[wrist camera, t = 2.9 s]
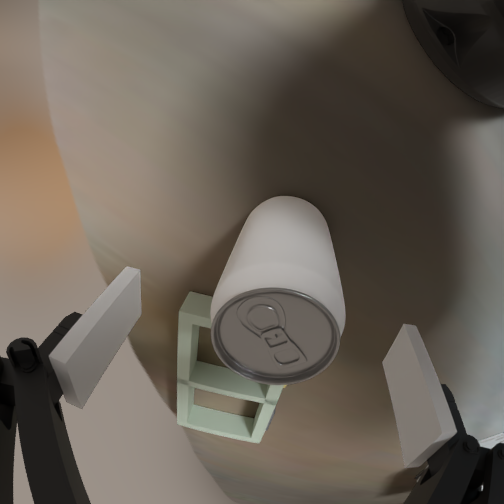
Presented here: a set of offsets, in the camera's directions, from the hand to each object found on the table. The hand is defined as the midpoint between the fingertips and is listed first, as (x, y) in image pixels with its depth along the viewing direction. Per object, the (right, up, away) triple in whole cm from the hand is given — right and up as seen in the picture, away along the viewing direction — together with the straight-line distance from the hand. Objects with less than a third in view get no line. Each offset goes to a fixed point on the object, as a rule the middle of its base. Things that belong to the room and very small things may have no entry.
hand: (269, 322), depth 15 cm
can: (+2, +5, +9) cm, 11 cm away
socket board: (-3, -9, +16) cm, 19 cm away
